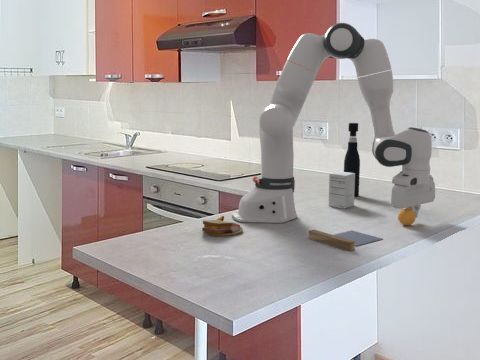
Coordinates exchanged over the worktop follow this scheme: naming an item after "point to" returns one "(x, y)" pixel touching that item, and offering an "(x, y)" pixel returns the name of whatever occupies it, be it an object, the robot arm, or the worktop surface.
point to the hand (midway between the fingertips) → (412, 218)
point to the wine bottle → (353, 156)
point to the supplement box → (341, 189)
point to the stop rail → (332, 240)
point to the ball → (406, 217)
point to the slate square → (358, 237)
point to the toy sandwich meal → (221, 228)
